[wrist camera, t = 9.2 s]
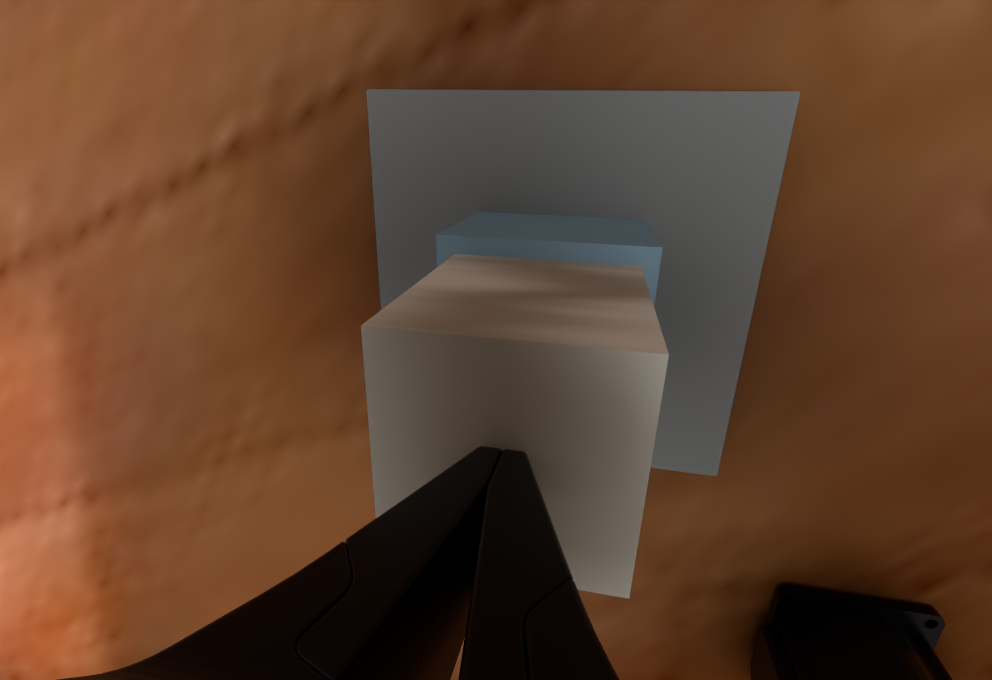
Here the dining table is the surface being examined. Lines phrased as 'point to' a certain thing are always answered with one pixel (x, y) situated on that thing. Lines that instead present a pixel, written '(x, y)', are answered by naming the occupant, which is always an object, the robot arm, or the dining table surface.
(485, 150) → the base mat
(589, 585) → the top brick
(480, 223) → the bottom brick
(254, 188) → the dining table surface
